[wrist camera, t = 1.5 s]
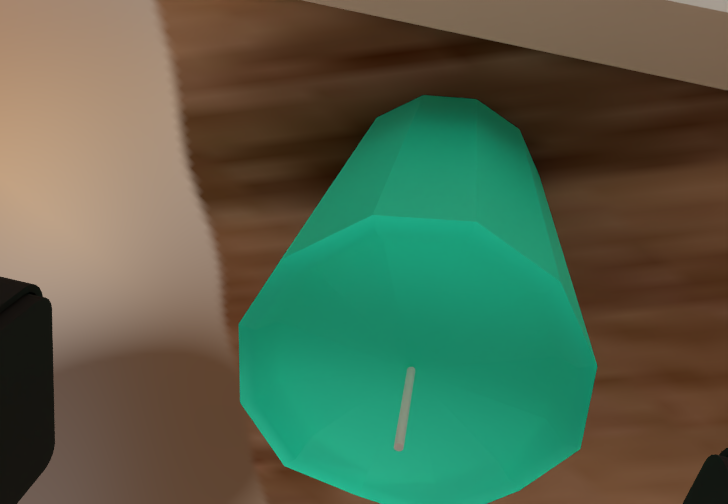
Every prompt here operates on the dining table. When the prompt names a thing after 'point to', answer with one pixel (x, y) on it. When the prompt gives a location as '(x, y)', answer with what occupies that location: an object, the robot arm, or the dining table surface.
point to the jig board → (585, 30)
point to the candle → (423, 320)
